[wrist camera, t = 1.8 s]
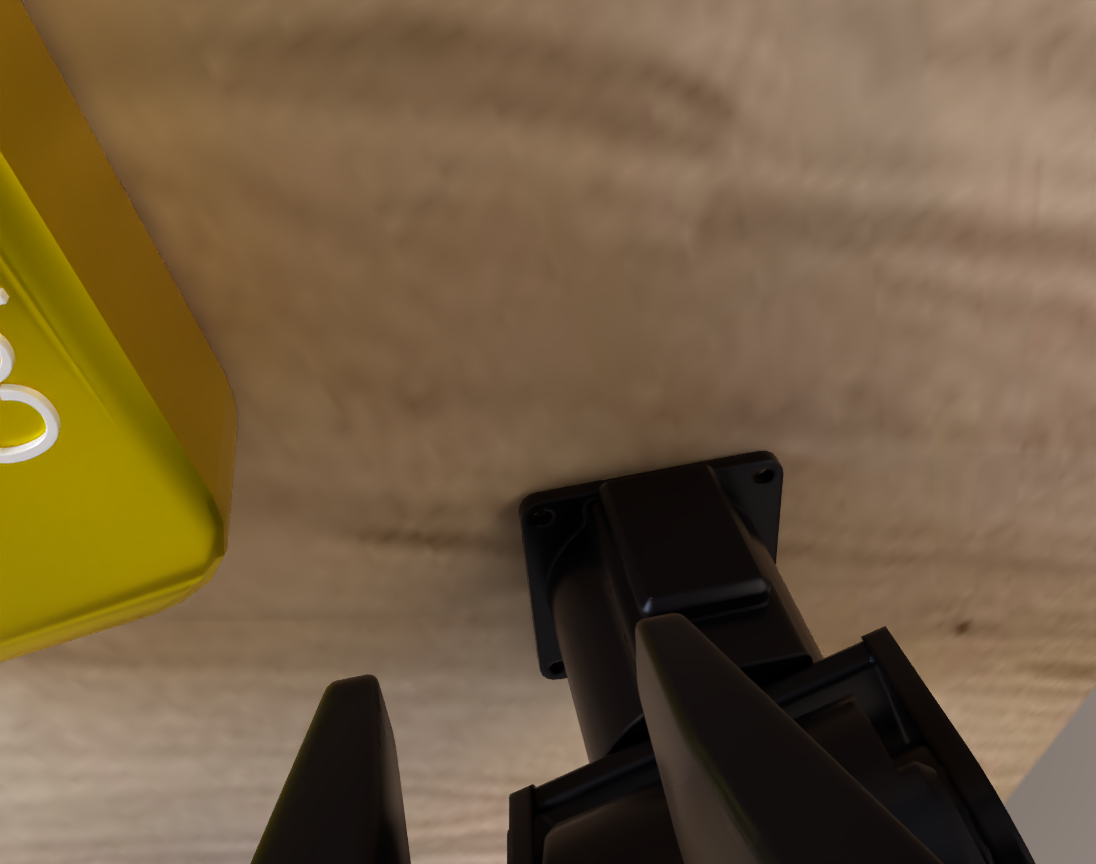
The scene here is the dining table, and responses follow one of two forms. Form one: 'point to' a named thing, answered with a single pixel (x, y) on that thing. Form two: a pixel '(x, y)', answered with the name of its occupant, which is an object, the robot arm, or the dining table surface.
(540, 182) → the dining table surface
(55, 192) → the element tile
